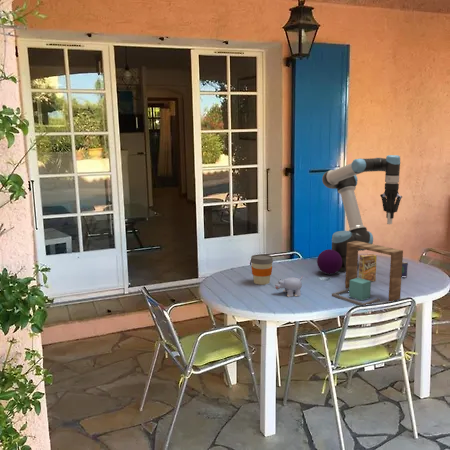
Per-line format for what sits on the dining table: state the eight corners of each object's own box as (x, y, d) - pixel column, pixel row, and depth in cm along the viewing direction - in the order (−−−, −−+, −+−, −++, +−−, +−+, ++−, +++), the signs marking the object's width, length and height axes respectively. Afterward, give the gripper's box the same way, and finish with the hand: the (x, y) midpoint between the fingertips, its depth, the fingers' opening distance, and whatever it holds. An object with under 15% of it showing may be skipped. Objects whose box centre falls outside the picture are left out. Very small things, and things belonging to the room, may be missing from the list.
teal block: (348, 296, 257) (349, 280, 255) (357, 293, 261) (358, 277, 259) (361, 300, 251) (362, 283, 249) (370, 297, 255) (370, 281, 253)
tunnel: (345, 287, 271) (346, 242, 266) (354, 285, 276) (356, 240, 271) (390, 301, 248) (393, 252, 243) (400, 298, 253) (403, 250, 248)
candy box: (362, 282, 280) (363, 256, 277) (358, 280, 284) (359, 254, 281) (375, 281, 282) (377, 255, 280) (371, 279, 286) (372, 253, 284)
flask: (406, 276, 291) (407, 258, 289) (407, 277, 288) (408, 260, 286) (390, 276, 292) (391, 258, 290) (391, 277, 289) (392, 260, 287)
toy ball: (342, 271, 303) (343, 247, 300) (341, 278, 289) (342, 253, 286) (317, 269, 307) (318, 246, 304) (315, 276, 292) (316, 252, 289)
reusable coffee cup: (271, 286, 275) (271, 260, 272) (249, 284, 277) (249, 259, 275) (273, 279, 287) (274, 254, 284) (252, 278, 289) (252, 253, 287)
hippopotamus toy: (273, 291, 267) (273, 274, 265) (300, 289, 269) (300, 273, 267) (277, 297, 256) (277, 280, 255) (305, 296, 258) (306, 278, 256)
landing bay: (331, 295, 258) (331, 293, 258) (347, 290, 266) (347, 288, 266) (363, 306, 242) (363, 304, 242) (380, 300, 250) (380, 298, 250)
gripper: (378, 182, 280) (375, 223, 284) (398, 184, 270) (395, 226, 274) (385, 181, 284) (383, 221, 289) (406, 183, 274) (403, 224, 279)
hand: (389, 223), depth 282 cm, fingers closed
